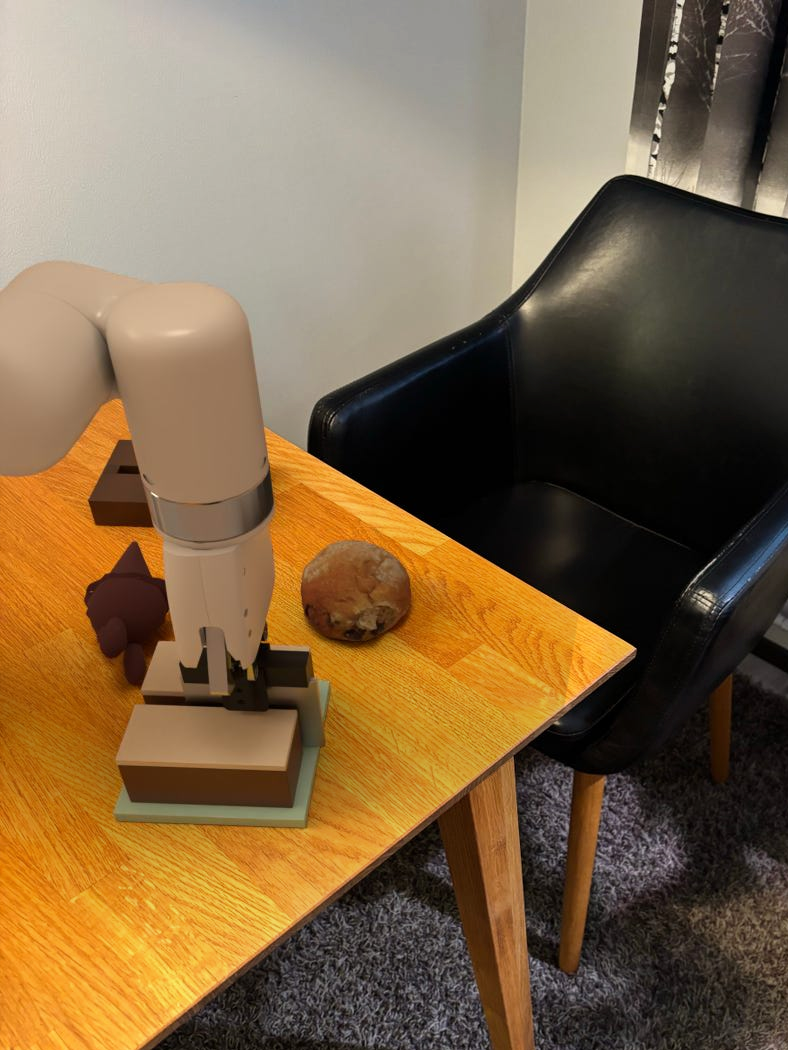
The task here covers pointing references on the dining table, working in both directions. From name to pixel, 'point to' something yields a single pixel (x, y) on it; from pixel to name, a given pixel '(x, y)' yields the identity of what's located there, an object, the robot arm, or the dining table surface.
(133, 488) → the brown slotted block
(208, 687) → the beige black-topped panel
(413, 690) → the dining table surface
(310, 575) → the bread roll
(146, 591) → the icecream
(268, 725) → the paired blocks on tray
